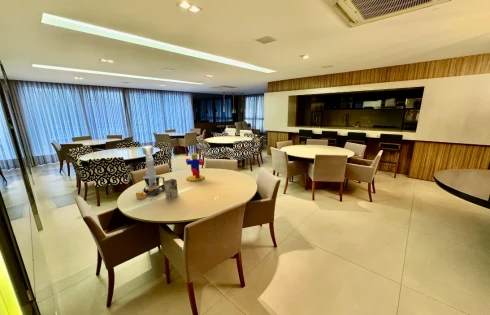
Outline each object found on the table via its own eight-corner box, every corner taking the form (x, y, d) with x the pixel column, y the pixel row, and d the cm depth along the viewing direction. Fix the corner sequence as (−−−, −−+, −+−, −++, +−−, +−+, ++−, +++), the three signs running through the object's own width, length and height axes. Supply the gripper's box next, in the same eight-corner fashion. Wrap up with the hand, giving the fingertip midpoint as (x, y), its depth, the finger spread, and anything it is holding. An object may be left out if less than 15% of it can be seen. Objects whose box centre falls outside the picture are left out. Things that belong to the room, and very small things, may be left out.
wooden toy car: (155, 195, 181) (153, 183, 178) (143, 194, 185) (142, 181, 182) (167, 189, 197) (166, 177, 194) (156, 187, 201) (155, 176, 198)
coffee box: (173, 194, 185) (172, 178, 181) (178, 195, 181) (176, 179, 178) (165, 197, 177) (163, 181, 173) (170, 199, 174) (168, 182, 170)
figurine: (203, 174, 241) (201, 151, 234) (206, 180, 222) (205, 154, 215) (185, 177, 233) (183, 152, 226) (187, 183, 213) (185, 156, 206)
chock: (136, 198, 176) (135, 192, 175) (142, 195, 182) (142, 190, 181) (141, 199, 174) (140, 193, 173) (147, 196, 181) (146, 190, 180)
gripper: (141, 173, 172) (143, 187, 176) (158, 172, 175) (160, 186, 178) (143, 171, 179) (145, 185, 182) (160, 170, 182) (161, 184, 185)
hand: (152, 185), depth 181 cm, fingers open, 7 cm apart
